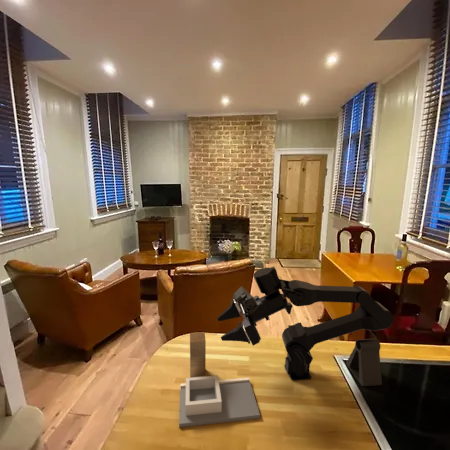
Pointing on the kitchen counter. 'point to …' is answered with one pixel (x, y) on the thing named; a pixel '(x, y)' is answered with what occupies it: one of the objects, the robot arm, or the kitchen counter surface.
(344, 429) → the kitchen counter surface
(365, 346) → the phone stand
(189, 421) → the grey socket base
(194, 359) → the bar
